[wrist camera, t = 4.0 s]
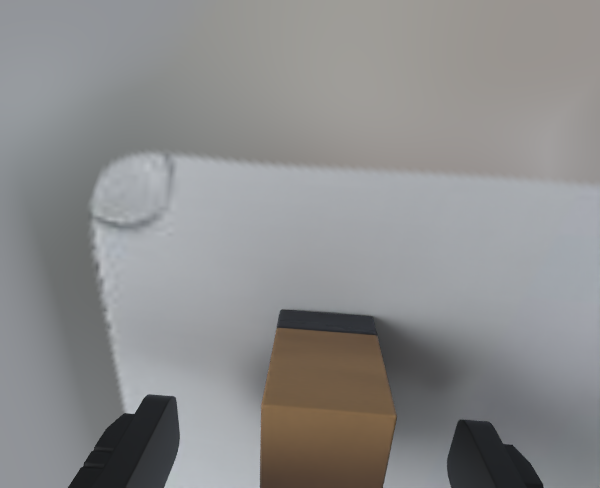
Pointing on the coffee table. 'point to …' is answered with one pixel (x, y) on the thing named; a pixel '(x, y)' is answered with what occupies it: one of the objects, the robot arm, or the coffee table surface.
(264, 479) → the eraser
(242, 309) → the coffee table surface
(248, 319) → the coffee table surface
